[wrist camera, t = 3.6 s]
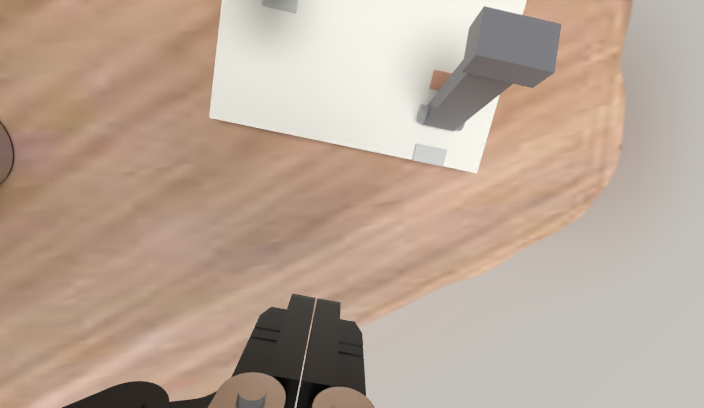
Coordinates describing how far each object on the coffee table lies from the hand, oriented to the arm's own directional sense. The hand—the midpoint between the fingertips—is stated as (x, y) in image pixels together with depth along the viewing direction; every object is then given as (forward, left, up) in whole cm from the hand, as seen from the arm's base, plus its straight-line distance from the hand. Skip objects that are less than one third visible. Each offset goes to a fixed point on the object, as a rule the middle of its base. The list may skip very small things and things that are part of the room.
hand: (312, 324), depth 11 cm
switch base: (0, +13, -27) cm, 30 cm away
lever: (+8, +8, -24) cm, 27 cm away
